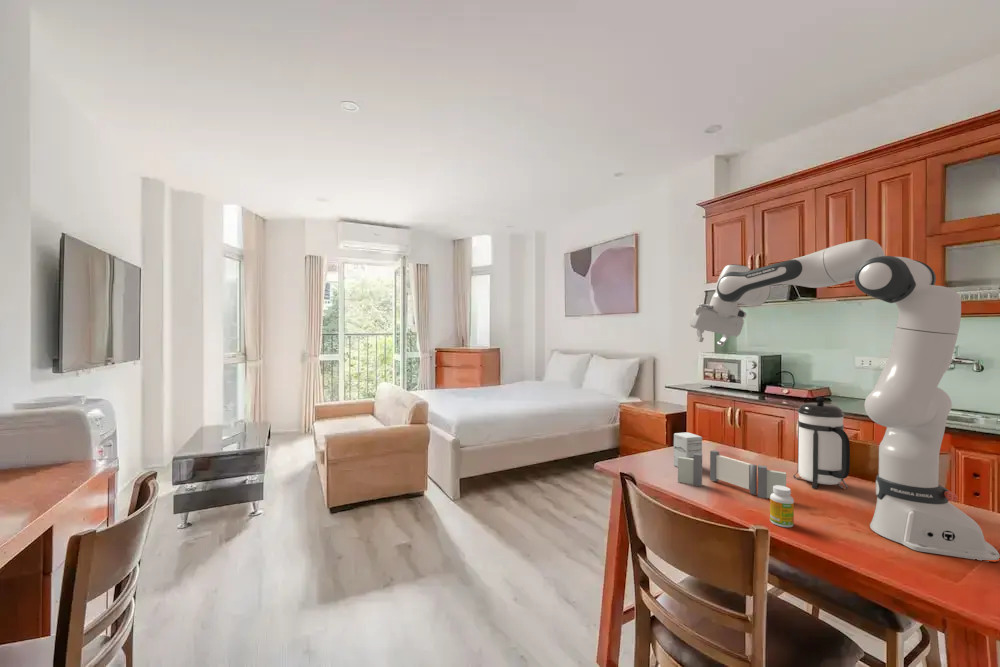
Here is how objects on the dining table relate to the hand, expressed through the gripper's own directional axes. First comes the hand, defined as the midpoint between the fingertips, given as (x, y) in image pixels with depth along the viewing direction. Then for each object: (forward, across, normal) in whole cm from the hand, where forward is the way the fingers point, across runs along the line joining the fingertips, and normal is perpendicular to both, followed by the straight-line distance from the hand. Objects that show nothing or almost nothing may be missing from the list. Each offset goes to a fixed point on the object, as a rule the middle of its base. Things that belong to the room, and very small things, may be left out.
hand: (709, 343), depth 159 cm
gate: (+41, +2, -29) cm, 50 cm away
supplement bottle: (+37, -6, -53) cm, 65 cm away
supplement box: (+48, +2, -8) cm, 48 cm away
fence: (+42, -1, -31) cm, 52 cm away
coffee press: (+35, +34, -34) cm, 59 cm away
